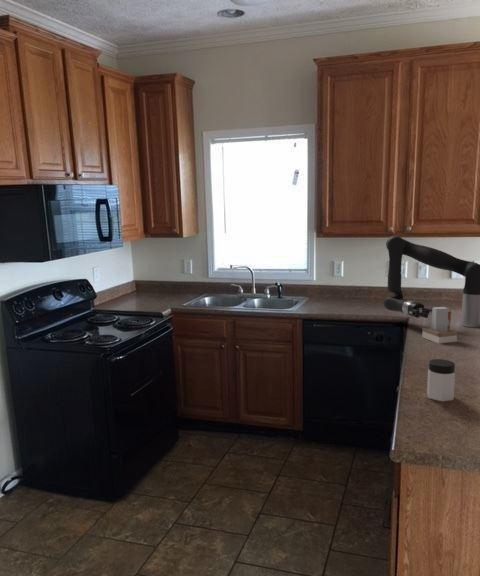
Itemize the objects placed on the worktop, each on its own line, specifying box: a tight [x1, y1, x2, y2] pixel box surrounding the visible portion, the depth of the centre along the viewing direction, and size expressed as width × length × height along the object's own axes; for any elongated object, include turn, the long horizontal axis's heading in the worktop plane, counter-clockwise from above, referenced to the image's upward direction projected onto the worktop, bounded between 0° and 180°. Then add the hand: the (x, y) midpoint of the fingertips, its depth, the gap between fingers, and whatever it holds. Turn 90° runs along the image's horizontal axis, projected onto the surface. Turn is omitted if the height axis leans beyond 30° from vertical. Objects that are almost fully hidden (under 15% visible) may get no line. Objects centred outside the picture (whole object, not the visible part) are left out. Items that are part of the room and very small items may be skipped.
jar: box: [426, 358, 456, 402], centre depth 171 cm, size 9×8×12 cm
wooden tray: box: [421, 327, 458, 345], centre depth 243 cm, size 10×12×5 cm
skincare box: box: [431, 306, 449, 333], centre depth 242 cm, size 6×4×12 cm
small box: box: [429, 309, 452, 332], centre depth 259 cm, size 8×6×10 cm
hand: (434, 315), depth 245 cm, fingers open, 8 cm apart
